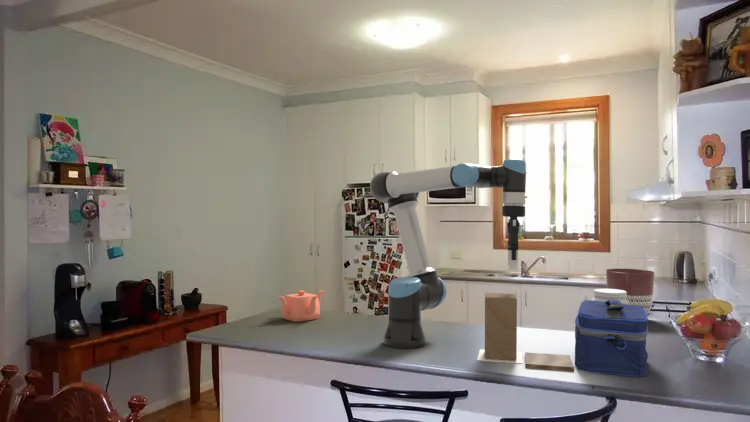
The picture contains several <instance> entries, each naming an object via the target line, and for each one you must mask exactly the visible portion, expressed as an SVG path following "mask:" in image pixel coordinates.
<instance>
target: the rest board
mask: <svg viewBox="0 0 750 422" xmlns="http://www.w3.org/2000/svg"><path fill="white" fill-rule="evenodd" d="M524 359H525V360H524V362H525V368H526V369H539V370H541V369H542V370H550V371H551V370H554V371H565V372H567V371H568V372H575V366H574V363H573V361H572V357H571V355H570V354H558V353H557V354H555V353H544V352H543V353H541V352H526V351H525V354H524Z"/></svg>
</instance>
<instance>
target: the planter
mask: <svg viewBox="0 0 750 422" xmlns="http://www.w3.org/2000/svg"><path fill="white" fill-rule="evenodd" d="M605 279H606V289H618V290H624V291H626V292H627V297H626V299H627V300H628V302H629V305H639V306H642V307H643V308H644V309H645V311H646V313H647V315H648V314H649V312H651V311H650V310H651V308H652V305H653V300H654V299H653V298H654V284H655V283H654V282H655V271H652V270H647V269H639V268H637V269H636V268H607V269H606V270H605Z"/></svg>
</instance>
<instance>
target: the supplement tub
mask: <svg viewBox="0 0 750 422" xmlns="http://www.w3.org/2000/svg"><path fill="white" fill-rule="evenodd" d="M593 295H594V297H593V298H592V300H591V301H608V299H611V300H614V301H615V300H619V301H620V302H621V303H623V304H627V305H629V302H628V300H627V299H626V297H627V292H626V291H624V290H618V289H607V288H595V289H593Z"/></svg>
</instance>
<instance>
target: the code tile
mask: <svg viewBox="0 0 750 422" xmlns="http://www.w3.org/2000/svg"><path fill="white" fill-rule="evenodd" d="M477 362H490V363H492V362H493V363H503V362H505V364H520V365H522V364H523V352H522V351H517V359H516V360H500V359H486V358H485V349H482V348H481V349H479V351H478V356H477Z"/></svg>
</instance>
